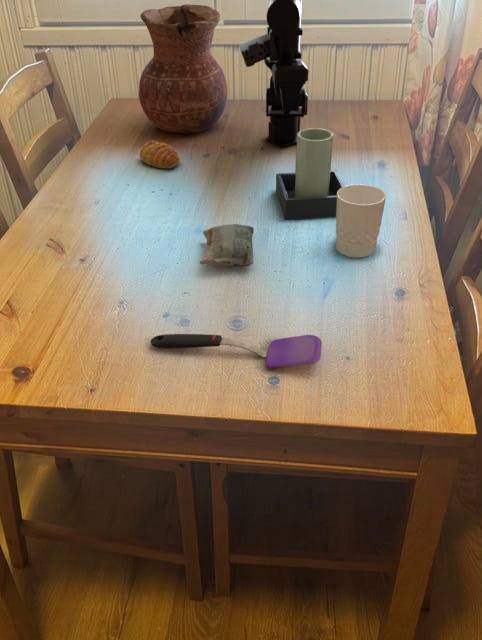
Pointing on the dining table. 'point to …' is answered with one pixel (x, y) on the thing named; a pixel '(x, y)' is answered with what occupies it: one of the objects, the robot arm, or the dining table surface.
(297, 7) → the robot arm
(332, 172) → the tub
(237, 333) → the dining table surface
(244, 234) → the packaged food
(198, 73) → the jug
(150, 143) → the pastry
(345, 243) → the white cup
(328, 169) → the tumbler
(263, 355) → the spatula
